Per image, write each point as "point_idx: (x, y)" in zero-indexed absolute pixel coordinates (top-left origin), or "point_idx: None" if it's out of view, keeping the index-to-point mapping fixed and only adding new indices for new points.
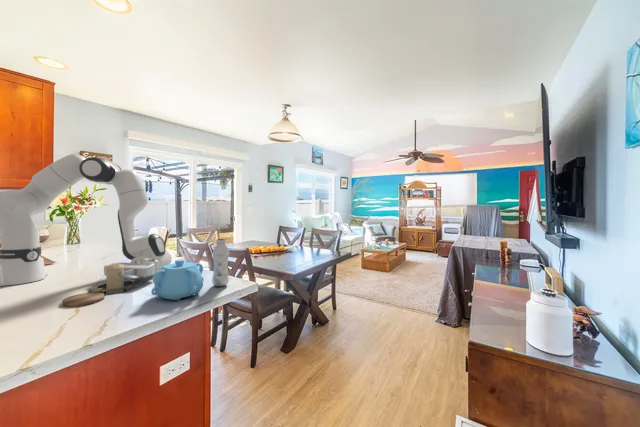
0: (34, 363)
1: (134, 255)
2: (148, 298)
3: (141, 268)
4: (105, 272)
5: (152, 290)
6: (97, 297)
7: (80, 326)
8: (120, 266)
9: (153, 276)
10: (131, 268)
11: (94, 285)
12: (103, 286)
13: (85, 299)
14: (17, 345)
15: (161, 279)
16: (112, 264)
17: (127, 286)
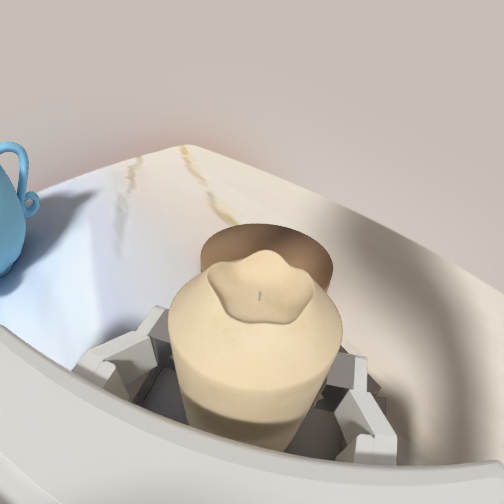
0: (175, 147)
1: None
2: (48, 260)
3: (9, 331)
4: (347, 355)
5: (36, 194)
6: (214, 251)
7: (169, 177)
8: (186, 288)
9: (25, 152)
10: (98, 385)
11: (385, 408)
12: (343, 441)
13: (246, 241)
14: (224, 160)
15: (6, 174)
16: (306, 302)
17: (141, 375)
